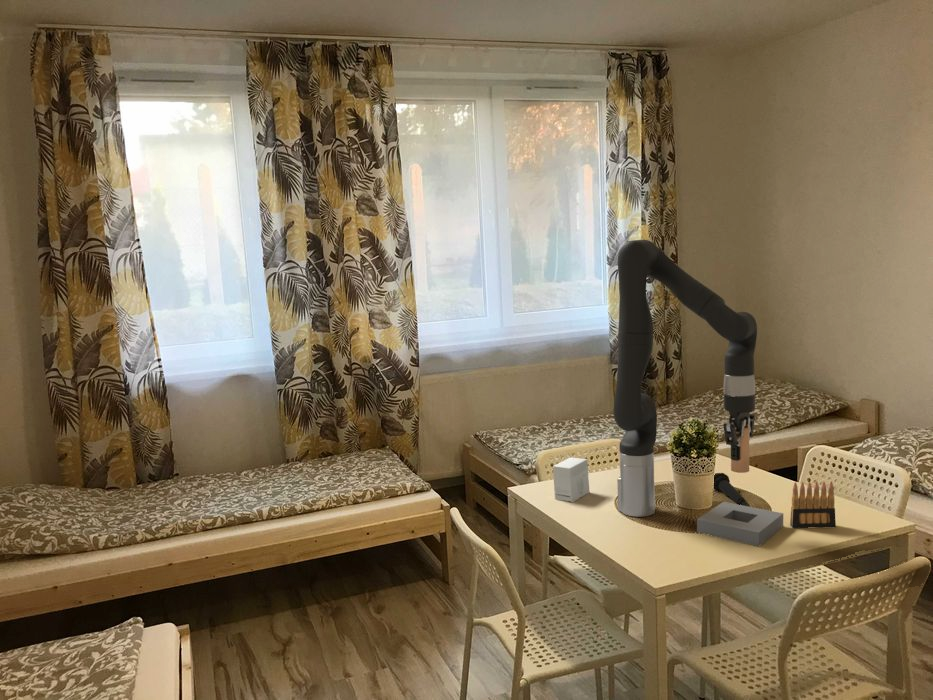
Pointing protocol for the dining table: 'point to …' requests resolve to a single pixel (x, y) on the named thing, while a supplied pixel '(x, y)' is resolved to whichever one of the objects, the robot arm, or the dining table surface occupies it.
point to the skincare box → (571, 479)
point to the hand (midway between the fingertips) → (739, 457)
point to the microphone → (727, 488)
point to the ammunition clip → (813, 507)
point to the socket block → (740, 523)
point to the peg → (742, 454)
